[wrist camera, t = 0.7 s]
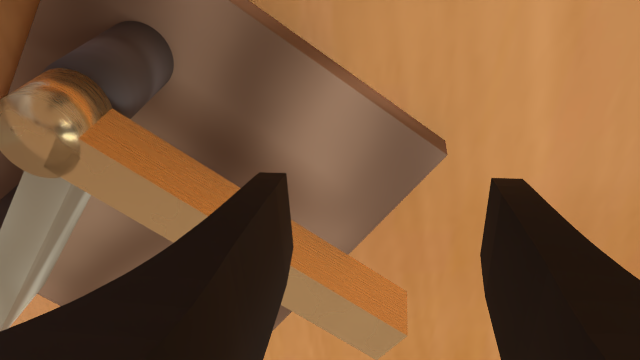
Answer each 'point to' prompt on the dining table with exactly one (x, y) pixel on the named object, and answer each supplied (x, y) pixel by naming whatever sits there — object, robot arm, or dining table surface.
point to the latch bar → (183, 200)
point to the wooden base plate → (202, 134)
